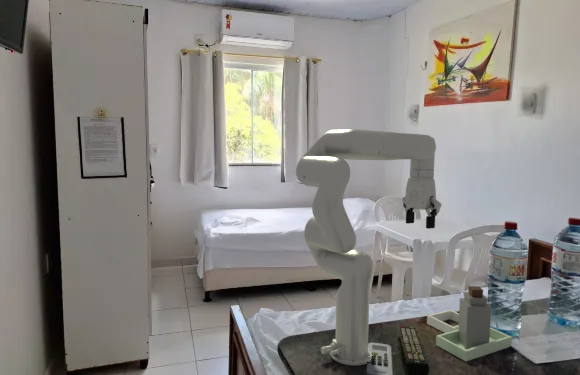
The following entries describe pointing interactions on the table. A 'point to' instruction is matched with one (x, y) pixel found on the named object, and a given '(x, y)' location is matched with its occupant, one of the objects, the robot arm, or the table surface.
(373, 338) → the table surface
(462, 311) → the perfume bottle
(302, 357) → the table surface
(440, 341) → the green bin
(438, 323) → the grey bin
